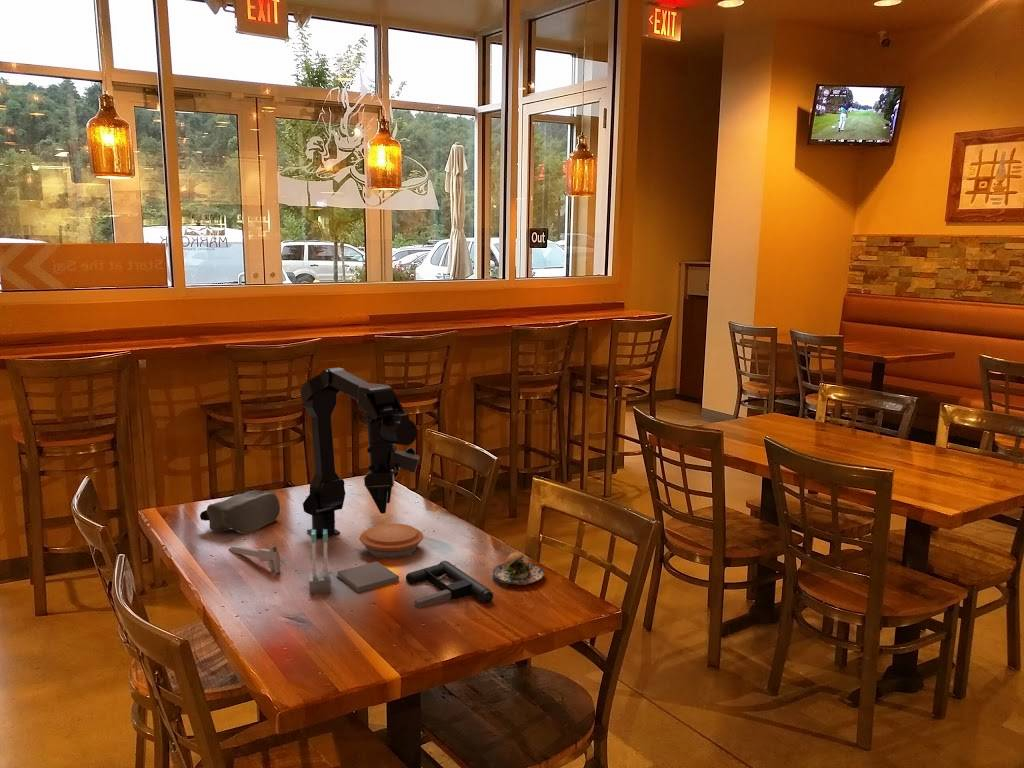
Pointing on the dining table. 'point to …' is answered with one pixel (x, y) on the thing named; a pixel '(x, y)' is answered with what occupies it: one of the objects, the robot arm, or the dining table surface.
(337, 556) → the dining table surface
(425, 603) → the toy submachine gun
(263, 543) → the dining table surface
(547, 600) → the dining table surface
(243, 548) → the caliper
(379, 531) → the pie
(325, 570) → the block with twin posts
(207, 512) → the grey jug on side
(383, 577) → the plate
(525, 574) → the burger
